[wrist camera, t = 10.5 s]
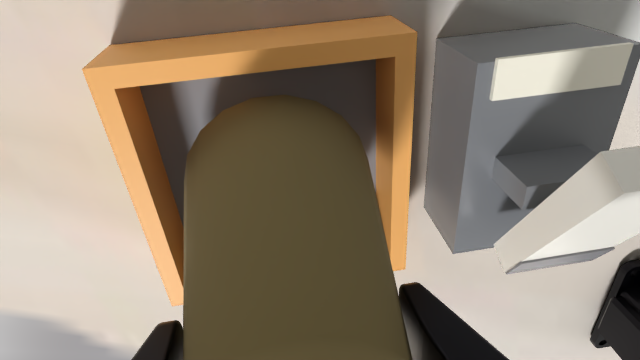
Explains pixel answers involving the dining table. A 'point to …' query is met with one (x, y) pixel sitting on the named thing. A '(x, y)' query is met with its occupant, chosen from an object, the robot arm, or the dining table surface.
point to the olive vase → (285, 240)
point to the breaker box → (518, 122)
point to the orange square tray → (245, 83)
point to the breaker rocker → (579, 216)
